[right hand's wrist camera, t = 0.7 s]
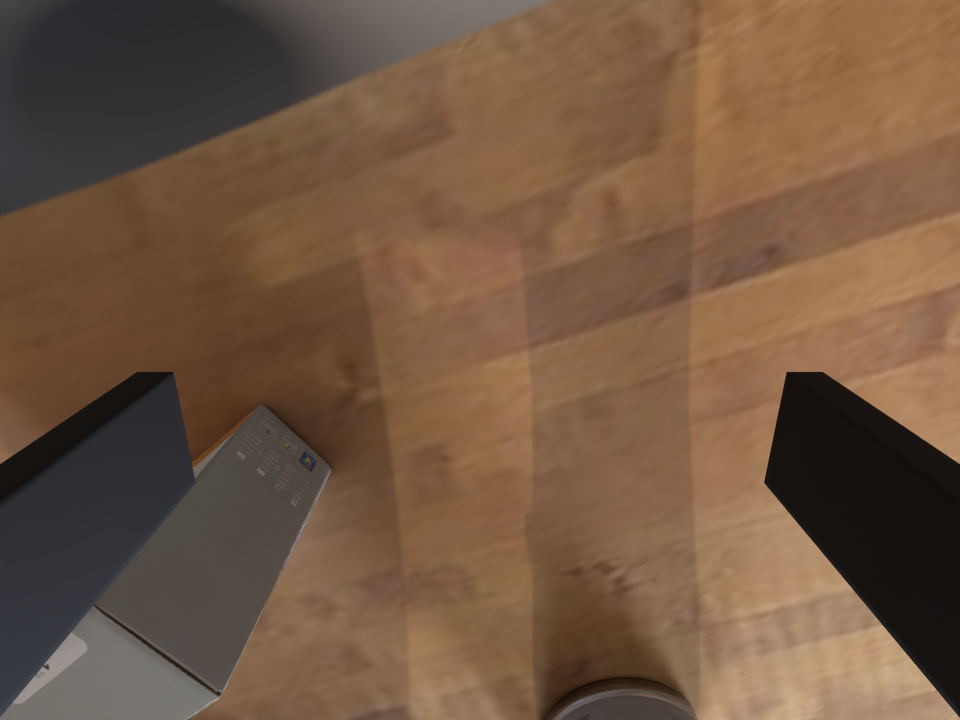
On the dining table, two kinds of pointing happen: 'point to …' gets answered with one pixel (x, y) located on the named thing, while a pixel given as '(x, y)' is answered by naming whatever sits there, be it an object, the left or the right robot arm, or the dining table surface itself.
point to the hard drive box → (188, 587)
